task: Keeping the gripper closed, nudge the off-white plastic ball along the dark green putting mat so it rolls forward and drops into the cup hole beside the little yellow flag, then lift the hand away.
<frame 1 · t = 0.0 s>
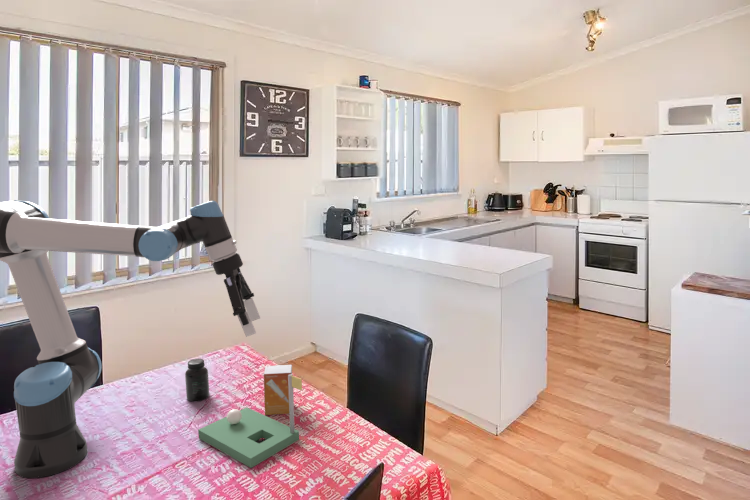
hand: (253, 326, 138), 28 cm above the table, tool tilted 20°, fingers open, 13 cm apart
ball: (234, 416, 135), point 4 cm above the table, touching putting green
putting green: (248, 439, 132), on the table
small box: (279, 410, 148), on the table
supplement bottle: (198, 397, 157), on the table
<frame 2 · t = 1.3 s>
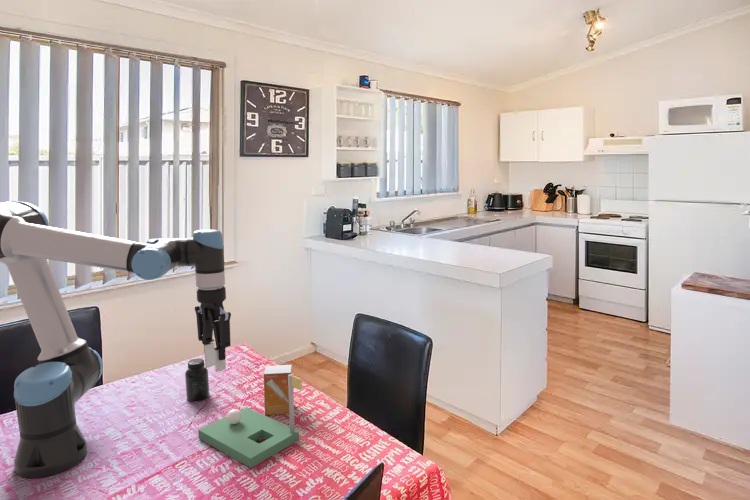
hand: (215, 368, 137), 17 cm above the table, tool pointing down, fingers open, 4 cm apart
nothing on the table moved.
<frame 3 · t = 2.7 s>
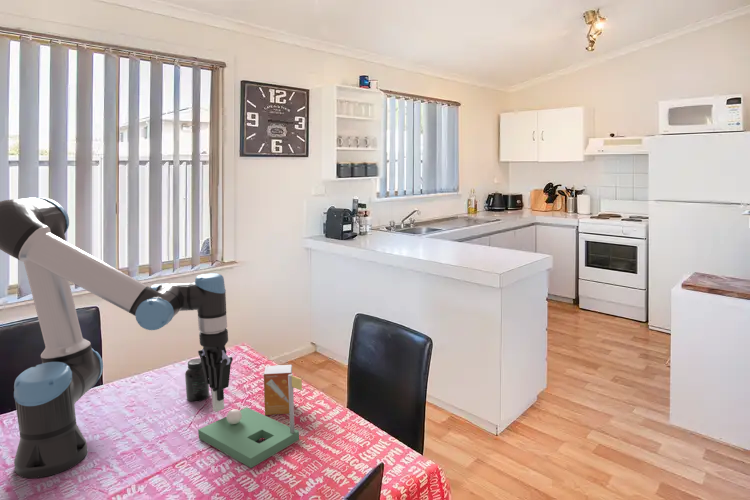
hand: (218, 409, 139), 4 cm above the table, tool pointing down, fingers closed
nothing on the table moved.
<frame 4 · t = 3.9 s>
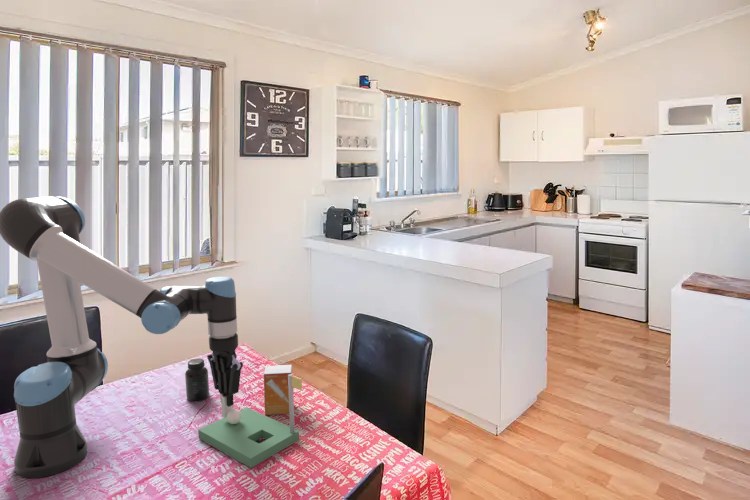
hand: (227, 415, 137), 4 cm above the table, tool pointing down, fingers closed
nothing on the table moved.
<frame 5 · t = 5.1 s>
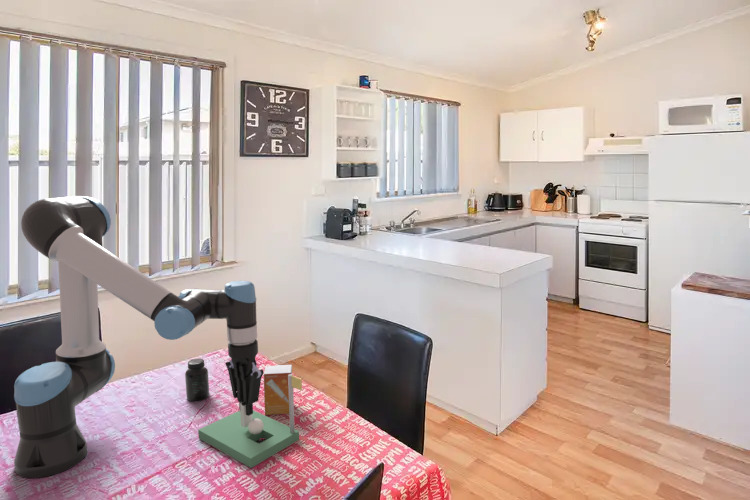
hand: (246, 424, 132), 4 cm above the table, tool pointing down, fingers closed
ball: (255, 426, 130), point 4 cm above the table, tilted 109°, touching putting green
everything else where it was.
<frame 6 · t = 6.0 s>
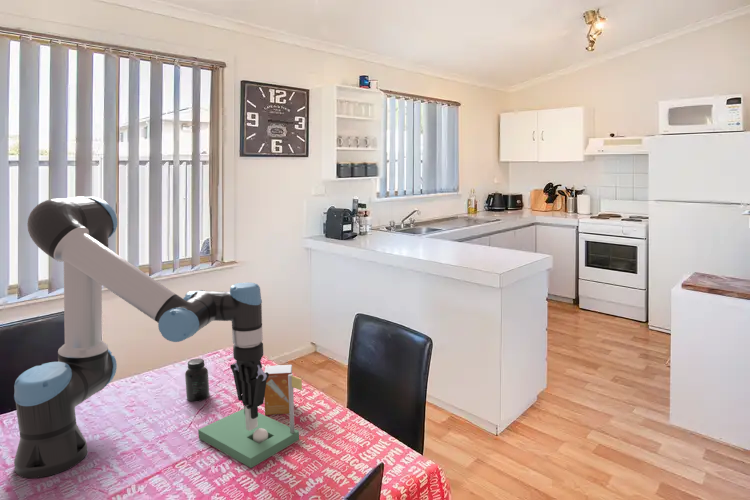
hand: (251, 427, 130), 4 cm above the table, tool pointing down, fingers closed
ball: (260, 436, 129), point 2 cm above the table, tilted 41°, touching putting green
everything else where it was.
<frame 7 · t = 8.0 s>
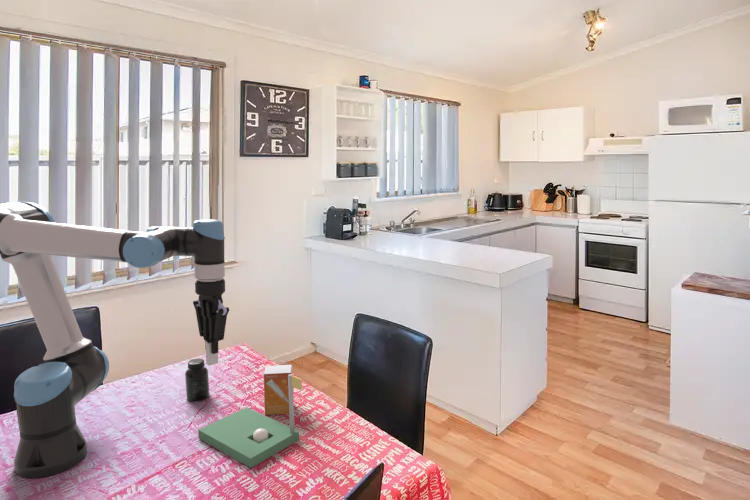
hand: (212, 363, 133), 20 cm above the table, tool pointing down, fingers closed
nothing on the table moved.
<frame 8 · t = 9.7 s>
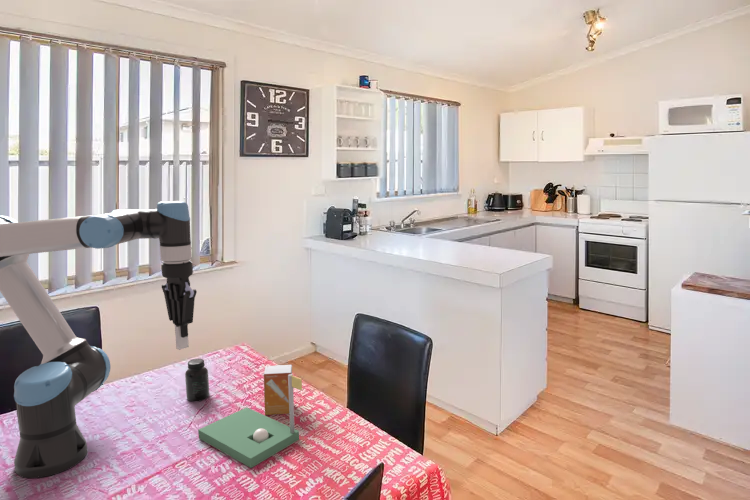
hand: (182, 347, 131), 24 cm above the table, tool pointing down, fingers closed
nothing on the table moved.
at the end: ball 0.6 cm from the target spot on the putting green, point 2.2 cm above the putting green's base; ball point 2.2 cm above the table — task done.
